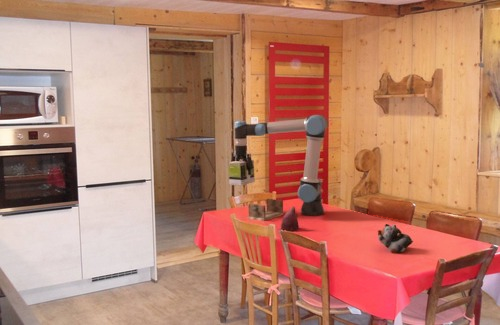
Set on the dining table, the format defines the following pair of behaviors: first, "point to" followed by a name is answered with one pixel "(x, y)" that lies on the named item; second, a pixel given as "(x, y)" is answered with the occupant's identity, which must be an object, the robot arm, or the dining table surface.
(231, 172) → the tea box
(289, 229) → the vegetable
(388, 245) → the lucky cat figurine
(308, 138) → the robot arm
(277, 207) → the holder stand
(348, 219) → the dining table surface
